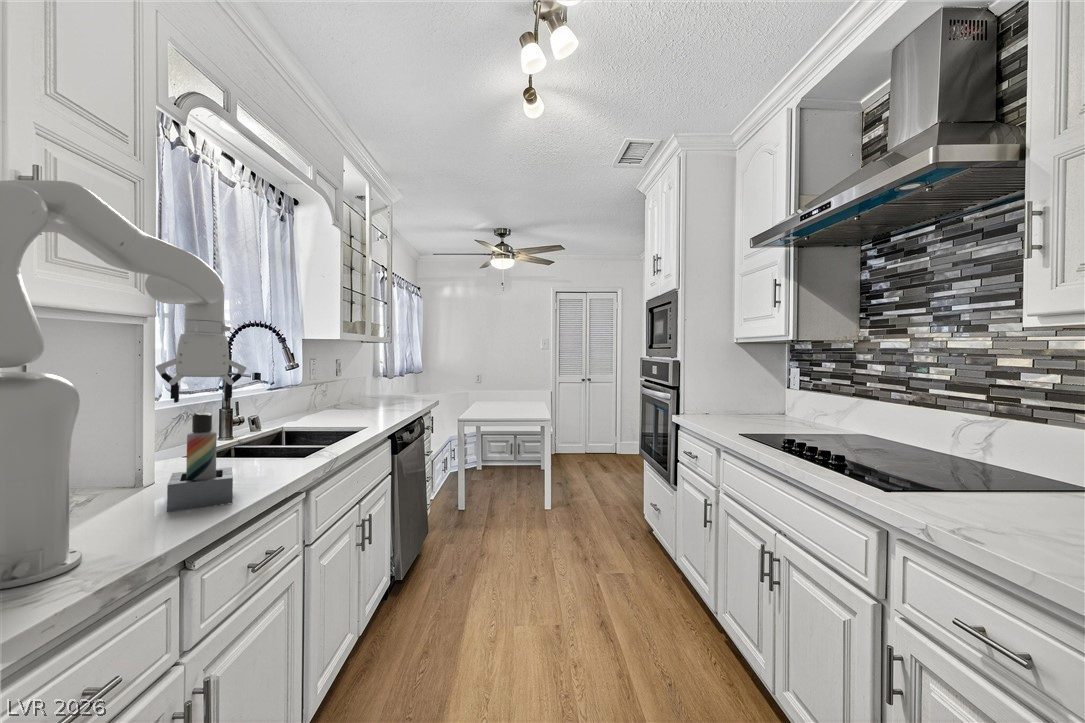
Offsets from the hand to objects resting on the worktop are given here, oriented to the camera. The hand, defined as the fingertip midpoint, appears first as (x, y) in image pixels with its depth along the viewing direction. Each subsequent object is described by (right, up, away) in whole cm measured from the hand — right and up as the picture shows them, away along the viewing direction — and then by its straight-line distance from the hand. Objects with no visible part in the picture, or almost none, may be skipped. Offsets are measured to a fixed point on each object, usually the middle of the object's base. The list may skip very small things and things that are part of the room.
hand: (202, 401), depth 111 cm
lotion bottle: (-1, -23, 0) cm, 23 cm away
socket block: (0, -24, +1) cm, 24 cm away
